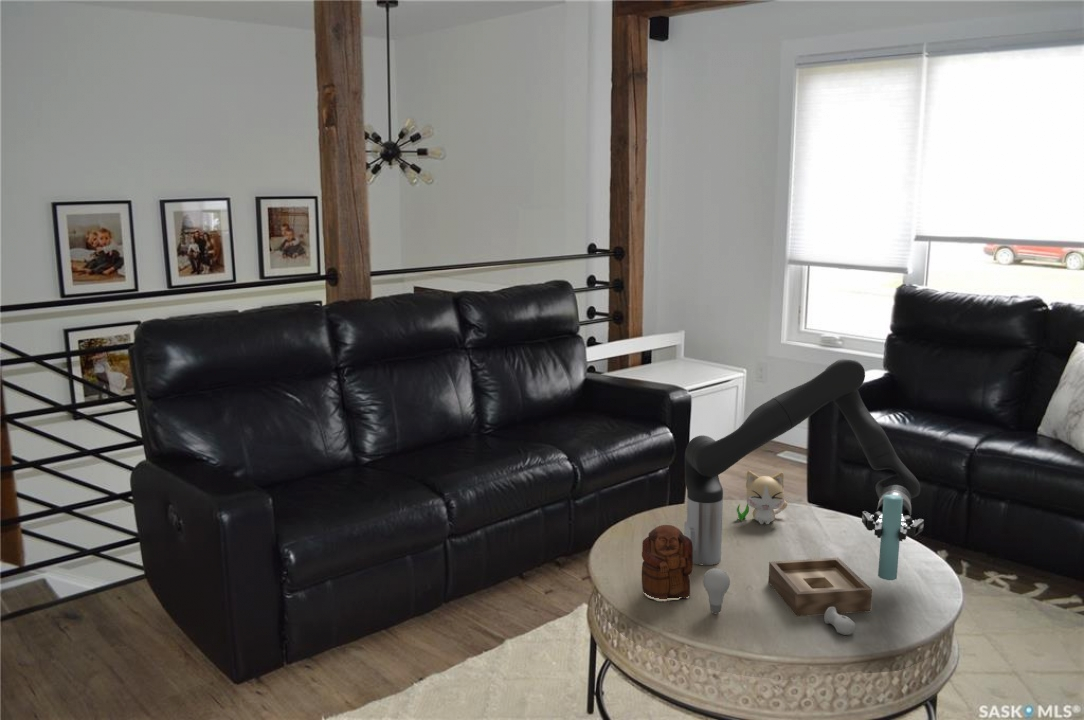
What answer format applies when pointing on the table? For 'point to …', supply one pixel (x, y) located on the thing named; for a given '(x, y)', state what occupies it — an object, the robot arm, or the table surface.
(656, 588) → the wooden figurine
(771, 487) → the kitten
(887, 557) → the peg
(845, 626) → the pale two-lobed sculpture
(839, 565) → the box
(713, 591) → the lightbulb
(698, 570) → the table surface
